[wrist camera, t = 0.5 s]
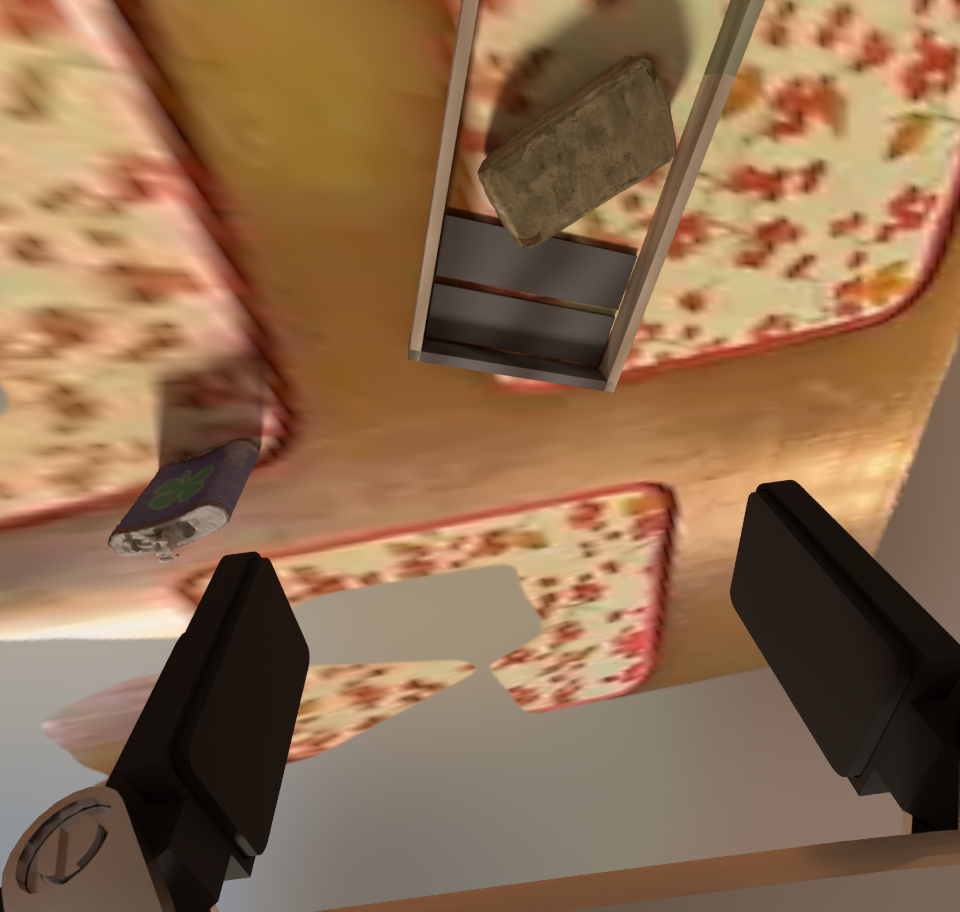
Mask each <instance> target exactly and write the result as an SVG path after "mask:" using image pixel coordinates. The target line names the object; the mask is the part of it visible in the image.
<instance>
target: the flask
mask: <svg viewBox="0 0 960 912" xmlns="http://www.w3.org/2000/svg"><path fill="white" fill-rule="evenodd" d="M258 451H259V449H258V447H257V445H256V444H255V443H254V442H253V441H252V440H251V439H236V440H230V441H228V443H227V444H226V445H223V446H220V447H216V448H214V447H213V448H211V449H206V450H205V451H202V452H201V453H200V454H199V455H198V456H197V457H193V458H192V457H190V456H189V457H188V458H187V459H185V460H183V461H177V460H176V461H175V462H172V463H168V464H164V465H162V466H161V467H160V469H159V471H158V472H157V474H156V476H155V477H154V478H153V480H152V481H151V482H150V484H149V485H148V487H147V488H146V489H145V490H144V491H143V493H142V494H141V495H140V496H139V498H138V500H137V501H136V502H135V503H134V505H133V506H132V508H131V509H130V510H129V512H128V513H127V514H126V515H125V517H124V518H123V519H122V520H121V523H120V524H119V525H117V527H116V529H115V530H114V531H113V532H112V534H111V536H110V537H109V541H108V545H109V546H110V547H111V548H112V549H113V550H114V551H115V552H117V553H119V554H120V555H123V556H138V555H143V554H149V553H155V555H154V556H164V555H170V554H171V553H172V550H173V549H174V548H177V547H180V546H183V545H186V544H188V543H190V542H194V541H196V540H198V539H200V538H202V537H204V536H206V535H208V534H210V533H213V532H215V531H216V530H218V529H220V528H221V527H223V526H225V525H226V524H227V523H228V522H229V520H230V518H231V515H232V512H233V510H234V508H235V506H236V504H237V501H238V499H239V497H240V495H241V493H242V491H243V488H244V486H245V484H246V481H247V479H248V477H249V475H250V473H251V471H252V470H253V467H254V465H255V463H256V461H257V459H258V456H259V452H258ZM178 556H179V554H176V557H178ZM171 561H173V558H171V557H166V558H159V562H171Z"/></svg>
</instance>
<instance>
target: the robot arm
mask: <svg viewBox="0 0 960 912" xmlns="http://www.w3.org/2000/svg"><path fill="white" fill-rule="evenodd" d="M730 596H731V601H732V604H733V606H734V608H735V610H736V612H737V613H738V615H739V617H740V618H741V620H742V622H743V623H744V625H745V626H746V628H747V630H748V631H749V633H750V635H751V636H752V638H753V639H754V641H755V643H756V644H757V646H758V648H759V649H760V651H761V653H762V654H763V656H764V657H765V659H766V661H767V662H768V664H769V666H770V667H771V669H772V670H773V672H774V674H775V675H776V677H777V678H778V680H779V682H780V683H781V685H782V687H783V688H784V690H785V691H786V693H787V695H788V697H789V698H790V700H791V701H792V703H793V705H794V706H795V708H796V709H797V711H798V713H799V714H800V716H801V718H802V719H803V721H804V723H805V724H806V726H807V727H808V729H809V731H810V732H811V734H812V736H813V737H814V739H815V741H816V742H817V744H818V745H819V747H820V748H821V750H822V752H823V754H824V755H825V757H826V758H827V760H828V762H829V763H830V765H831V766H832V768H833V769H834V770H835V772H837V774H838V775H840V776H842V777H847V778H848V779H849V781H850V782H851V784H852V785H853V787H854V789H855V790H856V792H857V794H858V795H859V796H864V795H871V794H879V793H886V792H890V793H891V794H892V795H893V797H894V798H895V800H896V801H897V803H898V804H899V806H900V807H901V808H902V810H903V814H902V827H901V835H898V836H889V837H879V838H870V839H861V840H852V841H842V842H834V843H827V844H818V845H811V846H802V847H795V848H787V849H779V850H771V851H764V852H756V853H748V854H740V855H732V856H724V857H717V858H710V859H701V860H693V861H685V862H677V863H671V864H662V865H655V866H647V867H640V868H632V869H624V870H617V871H609V872H603V873H595V874H587V875H579V876H572V877H565V878H557V879H549V880H542V881H535V882H527V883H520V884H513V885H504V886H497V887H490V888H483V889H475V890H468V891H461V892H453V893H447V894H439V895H432V896H424V897H418V898H410V899H403V900H395V901H388V902H381V903H374V904H366V905H359V906H353V907H345V908H338V909H330V910H323V911H317V912H960V644H959V643H958V642H957V641H956V640H955V639H954V638H953V637H952V636H951V635H950V634H949V633H948V632H947V631H946V630H945V629H944V628H943V627H941V625H940V624H939V623H938V622H937V621H936V620H935V619H934V618H933V617H932V616H931V615H930V614H929V613H928V612H927V611H926V610H925V609H924V608H923V607H922V606H921V605H920V604H919V603H918V602H916V600H915V599H914V598H913V597H912V596H911V595H909V593H908V592H907V591H906V590H905V589H904V588H903V587H902V586H901V585H900V584H899V583H898V582H897V581H896V580H894V579H893V578H892V576H891V575H890V574H889V573H888V572H887V571H885V569H884V568H883V567H882V566H881V565H880V564H879V563H878V562H877V561H876V560H875V559H874V558H873V557H872V556H871V555H870V554H869V553H868V552H867V551H866V550H865V549H864V548H863V547H862V546H861V545H860V544H859V543H858V542H857V541H856V540H855V539H854V538H853V537H852V536H851V535H850V534H849V533H848V532H847V531H846V530H845V529H844V528H843V527H842V526H841V525H840V524H839V523H838V522H837V521H836V520H835V519H834V518H833V517H832V516H831V515H830V514H829V513H828V512H827V511H826V510H825V509H824V508H823V507H822V506H821V505H820V504H819V503H818V502H817V501H816V500H814V499H813V498H812V497H811V496H810V495H809V494H808V493H807V492H806V491H805V490H804V489H803V488H802V487H801V486H800V485H799V484H798V483H797V482H796V481H794V480H785V481H778V482H770V483H763V484H760V485H759V486H758V487H757V489H756V492H753V493H751V494H750V495H749V497H748V501H747V506H746V511H745V517H744V522H743V527H742V532H741V537H740V542H739V547H738V552H737V557H736V563H735V568H734V573H733V578H732V583H731V588H730ZM308 667H309V649H308V646H307V643H306V641H305V639H304V636H303V634H302V632H301V629H300V627H299V625H298V623H297V620H296V618H295V616H294V613H293V611H292V609H291V607H290V604H289V602H288V600H287V598H286V595H285V593H284V591H283V588H282V586H281V584H280V582H279V579H278V577H277V575H276V573H275V570H274V568H273V566H272V563H271V562H270V560H269V559H268V558H261V556H260V554H258V553H257V552H246V553H239V554H231V555H226V556H224V557H223V558H222V559H221V560H220V562H219V564H218V566H217V568H216V570H215V572H214V574H213V576H212V579H211V581H210V583H209V585H208V587H207V589H206V591H205V593H204V595H203V597H202V599H201V601H200V603H199V605H198V607H197V609H196V611H195V613H194V615H193V617H192V619H191V621H190V623H189V625H188V627H187V630H186V632H185V633H183V634H182V635H181V636H180V638H179V639H178V641H177V642H176V644H175V646H174V648H173V650H172V652H171V655H170V657H169V658H168V660H167V662H166V665H165V666H164V669H163V670H162V672H161V674H160V676H159V678H158V681H157V683H156V685H155V687H154V689H153V691H152V693H151V695H150V697H149V699H148V701H147V703H146V705H145V707H144V709H143V711H142V713H141V715H140V717H139V719H138V721H137V723H136V725H135V727H134V729H133V731H132V733H131V735H130V737H129V739H128V741H127V743H126V745H125V747H124V749H123V751H122V753H121V755H120V757H119V759H118V761H117V763H116V765H115V767H114V769H113V771H112V773H111V775H110V777H109V779H108V781H107V783H106V785H105V786H96V787H89V788H85V789H83V790H80V791H77V792H74V793H72V794H70V795H69V796H67V797H65V798H63V799H62V800H60V801H58V802H56V803H55V804H54V805H53V806H52V807H50V808H49V809H48V810H47V811H45V812H44V813H43V814H42V815H41V816H39V817H38V818H37V819H36V820H35V821H34V823H33V824H32V825H31V826H30V827H29V828H28V829H27V830H26V831H25V832H24V834H23V835H22V836H21V838H20V839H19V841H18V842H17V844H16V846H15V847H14V849H13V850H12V852H11V853H10V856H9V858H8V860H7V863H6V866H5V868H4V871H3V875H2V887H1V888H0V912H219V911H218V909H217V907H216V903H217V902H218V899H219V896H220V892H221V889H222V885H223V882H224V881H226V880H233V879H241V878H248V877H250V876H251V872H252V868H253V864H254V860H255V856H256V855H261V854H262V853H263V852H264V850H265V848H266V845H267V842H268V838H269V834H270V830H271V825H272V821H273V817H274V812H275V808H276V804H277V800H278V796H279V791H280V787H281V783H282V778H283V774H284V770H285V765H286V761H287V757H288V753H289V748H290V744H291V740H292V735H293V731H294V727H295V723H296V718H297V714H298V710H299V705H300V701H301V697H302V693H303V688H304V684H305V680H306V675H307V671H308Z"/></svg>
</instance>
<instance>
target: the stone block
mask: <svg viewBox="0 0 960 912" xmlns="http://www.w3.org/2000/svg"><path fill="white" fill-rule="evenodd" d="M675 155H676V138H675V133H674V128H673V122H672V117H671V112H670V100H669V96H668V92H667V89H666V87H665V85H664V83H663V81H662V79H661V77H660V75H659V73H658V71H657V70H656V69H655V68H654V66H653V65H652V64H651V62H650V60H647V59H646V58H644V57H642V56H636V57H632V56H627V57H626V56H625V57H624V58H623V59H621V60H620V61H619V62H617V63H616V64H614V65H613V66H612V67H610V68H609V69H608V70H606V71H605V72H603V73H602V74H601V75H599V76H598V77H596V78H595V79H594V80H592V81H591V82H589V83H588V84H586V85H585V86H584V87H582V88H581V89H580V90H578V91H577V92H576V93H574V94H573V95H572V96H570V97H569V98H568V99H566V100H564V101H563V102H561V103H559V104H558V105H556V106H555V107H553V108H552V109H550V110H548V111H547V112H545V113H544V114H542V115H541V116H539V117H538V118H536V119H535V120H533V121H532V122H530V123H529V124H528V125H527V126H526V127H525V128H523V129H522V130H521V131H520V132H519V133H517V134H516V135H515V136H513V137H512V138H511V139H509V140H508V141H506V142H505V143H504V144H502V145H501V146H500V147H498V148H497V149H496V150H494V151H493V152H492V153H491V154H490V155H489V156H488V157H487V158H486V159H485V160H484V161H483V162H482V164H481V166H480V168H479V170H478V175H479V179H480V182H481V183H482V185H483V187H484V190H485V193H486V195H487V197H488V199H489V201H490V203H491V204H492V206H493V207H494V208H495V210H496V212H497V215H498V217H499V219H500V221H501V222H502V224H503V226H504V228H505V230H506V231H507V233H508V234H509V236H510V237H511V238H512V240H513V242H514V243H516V244H517V245H518V246H520V247H522V248H532V247H535V246H537V245H539V244H541V243H542V242H544V241H546V240H547V239H549V238H551V237H552V236H554V235H555V234H557V233H558V232H560V231H561V230H563V229H565V228H566V227H568V226H569V225H571V224H573V223H574V222H576V221H577V220H579V219H580V218H582V217H583V216H585V215H586V214H588V213H590V212H591V211H593V210H594V209H595V208H597V207H598V206H600V205H602V204H603V203H605V202H606V201H608V200H609V199H611V198H612V197H614V196H615V195H617V194H618V193H620V192H622V191H624V190H626V189H628V188H629V187H631V186H633V185H635V184H637V183H638V182H640V181H642V180H643V179H645V178H646V177H648V176H649V175H650V174H651V173H653V172H654V171H655V170H657V169H658V168H660V167H661V166H663V165H665V164H666V163H668V162H670V160H671V159H672V158H673V157H674V156H675Z"/></svg>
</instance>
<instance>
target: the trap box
mask: <svg viewBox="0 0 960 912" xmlns="http://www.w3.org/2000/svg"><path fill="white" fill-rule="evenodd" d="M764 1H765V0H731V2H730V4H729V7H728V10H727V13H726V16H725V18H724V21H723V24H722V27H721V29H720V32H719V35H718V38H717V41H716V43H715V46H714V49H713V52H712V54H711V57H710V60H709V63H708V66H707V68H706V71H705V74H704V77H703V79H702V82H701V85H700V88H699V91H698V93H697V96H696V99H695V102H694V104H693V107H692V110H691V113H690V116H689V118H688V121H687V124H686V127H685V129H684V132H683V135H682V138H681V141H680V143H679V146H678V149H677V152H676V155H675V157H674V160H673V163H672V166H671V168H670V171H669V174H668V177H667V179H666V182H665V185H664V188H663V191H662V193H661V196H660V199H659V202H658V204H657V207H656V210H655V213H654V216H653V218H652V221H651V224H650V227H649V229H648V232H647V235H646V238H645V241H644V243H643V246H642V249H641V252H640V254H639V257H638V260H637V263H636V266H635V268H634V271H633V274H632V277H631V279H630V282H629V285H628V288H627V291H626V293H625V296H624V299H623V302H622V304H621V307H620V310H619V313H618V316H617V318H616V321H615V324H614V327H613V329H612V332H611V335H610V338H609V341H608V343H607V346H606V349H605V352H604V354H603V357H602V360H601V363H600V366H599V368H593V367H587V366H581V365H575V364H569V363H563V362H557V361H551V360H545V359H539V358H533V357H527V356H521V355H515V354H509V353H503V352H498V351H492V350H486V349H480V348H474V347H468V346H462V345H456V344H450V343H444V342H438V341H432V340H426V339H423V335H424V329H425V323H426V317H427V311H428V305H429V299H430V293H431V287H432V281H433V274H434V268H435V262H436V256H437V250H438V244H439V238H440V232H441V226H442V220H443V214H444V208H445V202H446V196H447V190H448V184H449V178H450V172H451V166H452V160H453V154H454V148H455V142H456V135H457V129H458V123H459V117H460V111H461V105H462V99H463V93H464V87H465V81H466V75H467V69H468V63H469V57H470V51H471V45H472V39H473V33H474V27H475V21H476V15H477V9H478V3H479V0H461V5H460V12H459V18H458V25H457V31H456V38H455V45H454V51H453V58H452V64H451V71H450V77H449V84H448V91H447V97H446V104H445V110H444V117H443V124H442V130H441V137H440V143H439V150H438V156H437V163H436V170H435V176H434V183H433V189H432V196H431V203H430V209H429V216H428V222H427V229H426V235H425V242H424V249H423V255H422V262H421V268H420V275H419V282H418V288H417V295H416V301H415V308H414V315H413V321H412V328H411V334H410V341H409V350H408V360H413V361H419V362H426V363H432V364H438V365H444V366H451V367H457V368H463V369H469V370H476V371H482V372H488V373H495V374H501V375H507V376H513V377H520V378H526V379H532V380H538V381H545V382H551V383H557V384H563V385H570V386H576V387H582V388H588V389H595V390H601V391H607V392H614V390H615V387H616V385H617V382H618V379H619V377H620V374H621V372H622V369H623V367H624V364H625V361H626V359H627V356H628V354H629V351H630V348H631V346H632V343H633V341H634V338H635V335H636V333H637V330H638V328H639V325H640V323H641V320H642V317H643V315H644V312H645V310H646V307H647V304H648V302H649V299H650V297H651V294H652V291H653V289H654V286H655V284H656V281H657V278H658V276H659V273H660V271H661V268H662V266H663V263H664V260H665V258H666V255H667V253H668V250H669V247H670V245H671V242H672V240H673V237H674V234H675V232H676V229H677V227H678V224H679V222H680V219H681V216H682V214H683V211H684V209H685V206H686V203H687V201H688V198H689V196H690V193H691V190H692V188H693V185H694V183H695V180H696V178H697V175H698V172H699V170H700V167H701V165H702V162H703V159H704V157H705V154H706V152H707V149H708V146H709V144H710V141H711V139H712V136H713V133H714V131H715V128H716V126H717V123H718V121H719V118H720V115H721V113H722V110H723V108H724V105H725V102H726V100H727V97H728V95H729V92H730V89H731V87H732V84H733V82H734V79H735V77H736V74H737V71H738V69H739V66H740V64H741V61H742V58H743V56H744V53H745V51H746V48H747V45H748V43H749V40H750V38H751V35H752V33H753V30H754V27H755V25H756V22H757V20H758V17H759V14H760V12H761V9H762V7H763V4H764ZM636 258H637V256H636V255H632V254H628V253H623V252H619V251H614V250H609V249H605V248H600V247H596V246H591V245H586V244H582V243H577V242H572V241H568V240H563V239H559V238H554V237H551V238H549V239H547V240H546V241H544V242H542V243H541V244H539V245H537V246H535V247H532V248H522V247H520V246H518V245H517V244H516V243H514V242H513V240H512V238H511V237H510V236H509V234H508V233H507V231H506V230H505V228H504V227H503V226H499V225H494V224H489V223H485V222H480V221H476V220H471V219H466V218H462V217H457V216H453V215H448V214H445V220H444V226H443V232H442V238H441V244H440V250H439V256H438V261H437V267H436V275H438V276H444V277H449V278H454V279H459V280H464V281H469V282H475V283H480V284H485V285H490V286H495V287H501V288H506V289H511V290H516V291H521V292H526V293H532V294H537V295H542V296H547V297H552V298H558V299H563V300H568V301H573V302H578V303H583V304H589V305H594V306H599V307H604V308H609V309H614V310H618V308H619V305H620V303H621V300H622V297H623V294H624V292H625V289H626V286H627V283H628V280H629V278H630V275H631V272H632V269H633V266H634V264H635V261H636ZM614 319H615V317H614V316H611V315H606V314H600V313H595V312H590V311H585V310H579V309H574V308H569V307H564V306H558V305H553V304H548V303H543V302H537V301H532V300H527V299H522V298H516V297H511V296H506V295H501V294H495V293H490V292H485V291H480V290H474V289H469V288H464V287H459V286H453V285H448V284H443V283H438V282H434V285H433V291H432V297H431V303H430V309H429V315H428V321H427V327H426V333H425V336H427V337H433V338H439V339H445V340H451V341H457V342H463V343H469V344H474V345H480V346H486V347H492V348H498V349H504V350H510V351H516V352H522V353H528V354H533V355H539V356H545V357H551V358H557V359H563V360H569V361H575V362H581V363H586V364H592V365H598V364H599V361H600V359H601V356H602V353H603V350H604V347H605V345H606V342H607V339H608V336H609V333H610V331H611V328H612V325H613V322H614Z"/></svg>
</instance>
